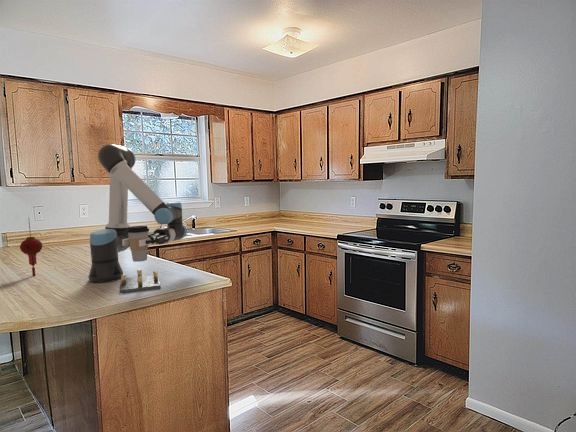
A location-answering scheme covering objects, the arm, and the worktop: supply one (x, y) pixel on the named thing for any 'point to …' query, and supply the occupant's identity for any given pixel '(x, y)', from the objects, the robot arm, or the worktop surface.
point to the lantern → (31, 249)
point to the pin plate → (137, 288)
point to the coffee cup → (134, 237)
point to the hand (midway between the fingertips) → (131, 243)
